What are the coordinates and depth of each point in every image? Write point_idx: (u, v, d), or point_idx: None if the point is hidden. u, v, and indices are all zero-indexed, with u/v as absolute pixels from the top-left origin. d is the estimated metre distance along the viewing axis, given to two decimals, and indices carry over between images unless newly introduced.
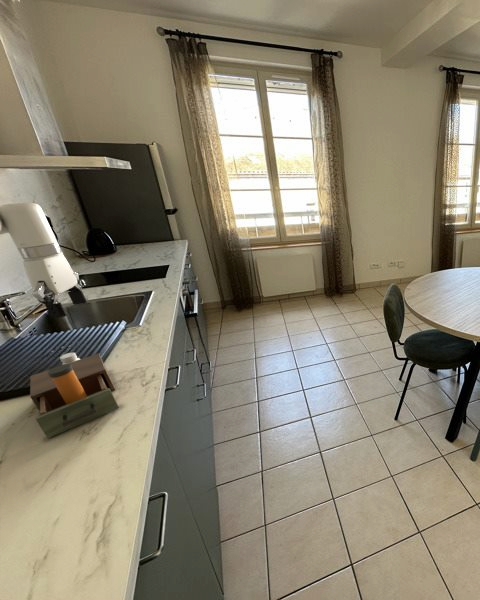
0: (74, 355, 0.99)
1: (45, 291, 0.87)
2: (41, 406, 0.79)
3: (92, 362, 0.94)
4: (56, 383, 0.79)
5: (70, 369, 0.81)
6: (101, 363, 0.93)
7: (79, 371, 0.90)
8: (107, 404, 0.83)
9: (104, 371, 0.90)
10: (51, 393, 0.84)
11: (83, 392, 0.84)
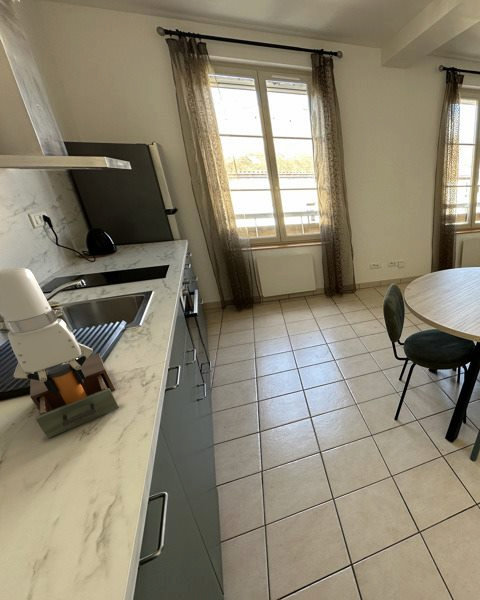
0: None
1: None
2: (41, 406, 0.79)
3: (92, 362, 0.94)
4: (56, 383, 0.79)
5: (70, 369, 0.81)
6: (101, 363, 0.93)
7: None
8: (107, 404, 0.83)
9: (104, 371, 0.90)
10: (51, 393, 0.84)
11: (83, 392, 0.84)
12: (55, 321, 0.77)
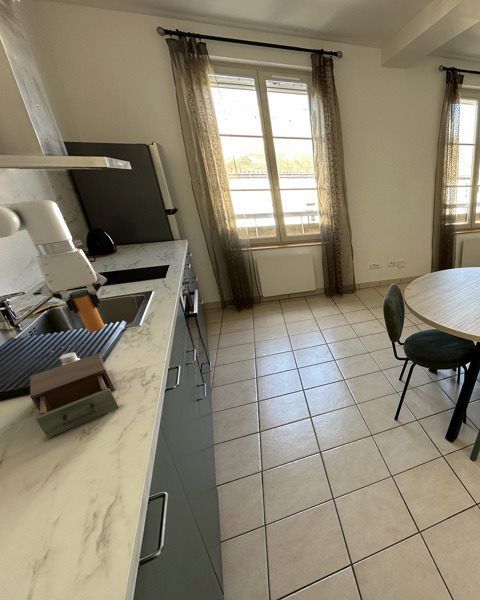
0: (74, 355, 0.99)
1: None
2: (41, 406, 0.79)
3: (92, 362, 0.94)
4: (76, 304, 0.93)
5: (87, 293, 0.94)
6: (101, 363, 0.93)
7: (79, 371, 0.90)
8: (107, 404, 0.83)
9: (104, 371, 0.90)
10: (51, 393, 0.84)
11: (98, 315, 0.97)
12: (75, 249, 0.90)
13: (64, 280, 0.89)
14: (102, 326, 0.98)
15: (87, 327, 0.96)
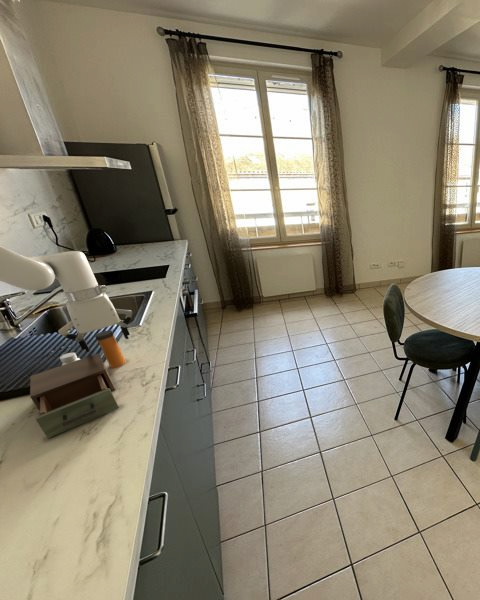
0: (74, 355, 0.99)
1: None
2: (41, 406, 0.79)
3: (92, 362, 0.94)
4: (101, 344, 1.01)
5: (112, 334, 1.02)
6: (101, 363, 0.93)
7: (79, 371, 0.90)
8: (107, 404, 0.83)
9: (104, 371, 0.90)
10: (51, 393, 0.84)
11: (121, 353, 1.05)
12: (101, 294, 0.98)
13: (90, 323, 0.97)
14: (124, 363, 1.06)
15: (111, 365, 1.04)
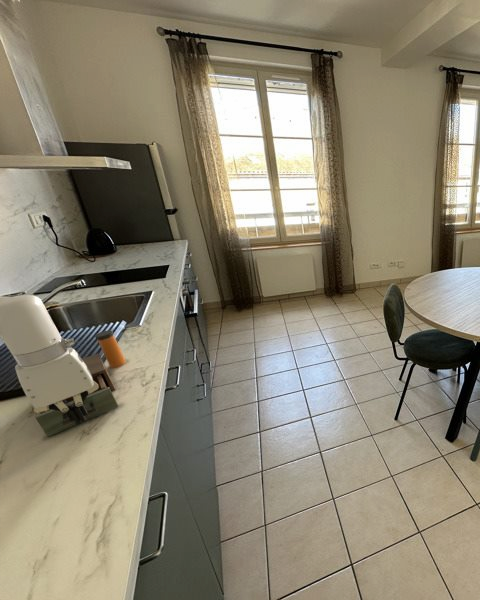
0: None
1: None
2: None
3: (92, 362, 0.94)
4: (101, 344, 1.01)
5: (112, 334, 1.02)
6: (101, 363, 0.93)
7: None
8: (107, 403, 0.84)
9: (104, 371, 0.90)
10: None
11: (121, 353, 1.05)
12: (66, 351, 0.71)
13: (51, 393, 0.70)
14: (124, 363, 1.06)
15: (111, 365, 1.04)
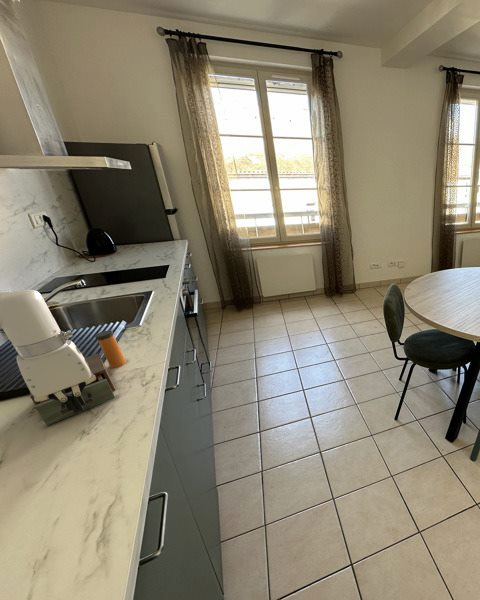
0: None
1: None
2: None
3: (92, 362, 0.94)
4: (101, 344, 1.01)
5: (112, 334, 1.02)
6: (101, 363, 0.93)
7: None
8: (104, 394, 0.87)
9: (104, 371, 0.90)
10: None
11: (121, 353, 1.05)
12: (64, 343, 0.74)
13: (51, 383, 0.73)
14: (124, 363, 1.06)
15: (111, 365, 1.04)
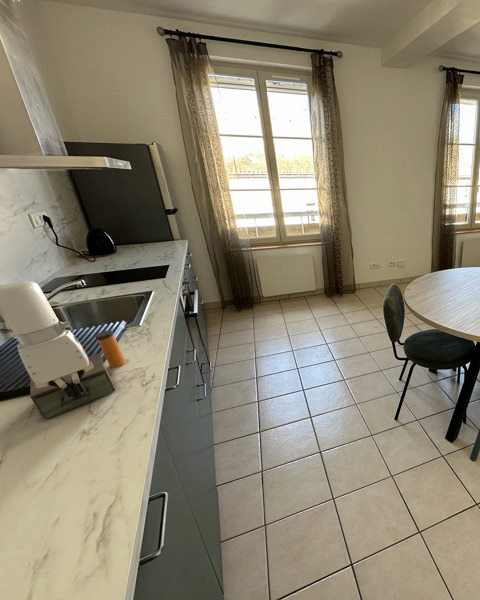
0: None
1: None
2: None
3: (92, 362, 0.94)
4: (101, 344, 1.01)
5: (112, 334, 1.02)
6: (101, 363, 0.93)
7: None
8: (102, 388, 0.90)
9: (104, 371, 0.90)
10: None
11: (121, 353, 1.05)
12: (63, 333, 0.78)
13: (50, 370, 0.77)
14: (124, 363, 1.06)
15: (111, 365, 1.04)
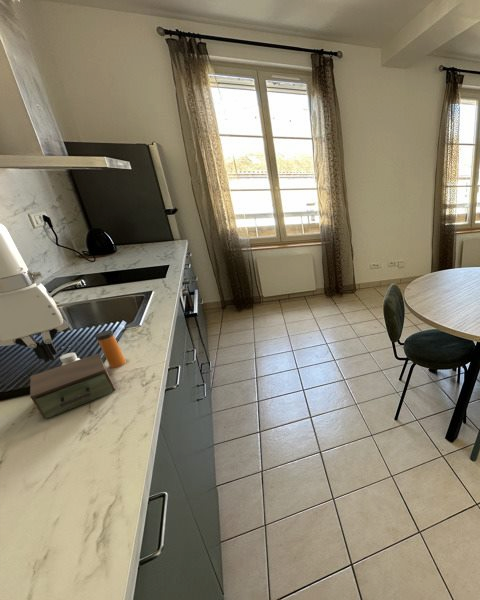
0: (74, 355, 0.99)
1: None
2: None
3: (92, 362, 0.94)
4: (101, 344, 1.01)
5: (112, 334, 1.02)
6: (101, 363, 0.93)
7: (79, 371, 0.90)
8: (102, 388, 0.90)
9: (104, 371, 0.90)
10: None
11: (121, 353, 1.05)
12: (33, 284, 0.69)
13: (17, 325, 0.68)
14: (124, 363, 1.06)
15: (111, 365, 1.04)
